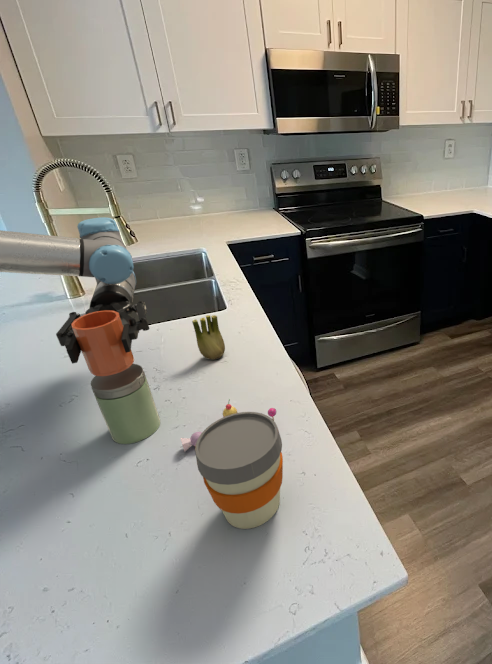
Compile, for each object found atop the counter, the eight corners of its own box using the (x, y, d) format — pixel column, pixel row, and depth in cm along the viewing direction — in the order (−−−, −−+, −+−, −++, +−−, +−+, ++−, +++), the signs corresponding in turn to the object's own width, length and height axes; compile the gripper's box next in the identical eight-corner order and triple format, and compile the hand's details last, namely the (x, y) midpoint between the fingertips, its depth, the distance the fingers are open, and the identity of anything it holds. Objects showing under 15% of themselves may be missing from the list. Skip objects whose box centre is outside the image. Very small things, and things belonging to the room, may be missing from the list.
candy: (188, 462, 78) (180, 438, 76) (180, 437, 84) (173, 413, 82) (279, 426, 87) (276, 403, 84) (266, 405, 93) (263, 383, 90)
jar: (101, 437, 84) (79, 387, 79) (138, 409, 92) (121, 362, 86) (134, 448, 82) (115, 398, 76) (170, 419, 89) (154, 371, 83)
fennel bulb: (200, 362, 108) (189, 321, 103) (206, 351, 113) (197, 312, 107) (222, 361, 108) (213, 320, 103) (228, 351, 113) (219, 311, 107)
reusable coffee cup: (245, 466, 78) (231, 403, 70) (304, 487, 73) (295, 421, 66) (196, 524, 67) (173, 456, 60) (261, 551, 63) (245, 481, 56)
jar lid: (83, 393, 79) (79, 384, 78) (123, 367, 87) (120, 359, 86) (117, 403, 77) (114, 394, 76) (155, 376, 84) (153, 368, 83)
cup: (82, 368, 80) (63, 322, 75) (120, 350, 85) (105, 307, 80) (103, 380, 76) (84, 333, 72) (142, 361, 82) (127, 316, 77)
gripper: (167, 306, 98) (167, 355, 79) (64, 325, 90) (37, 383, 72) (159, 277, 94) (157, 320, 76) (50, 293, 87) (19, 346, 68)
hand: (99, 351), depth 74 cm, fingers closed on cup, 8 cm apart
